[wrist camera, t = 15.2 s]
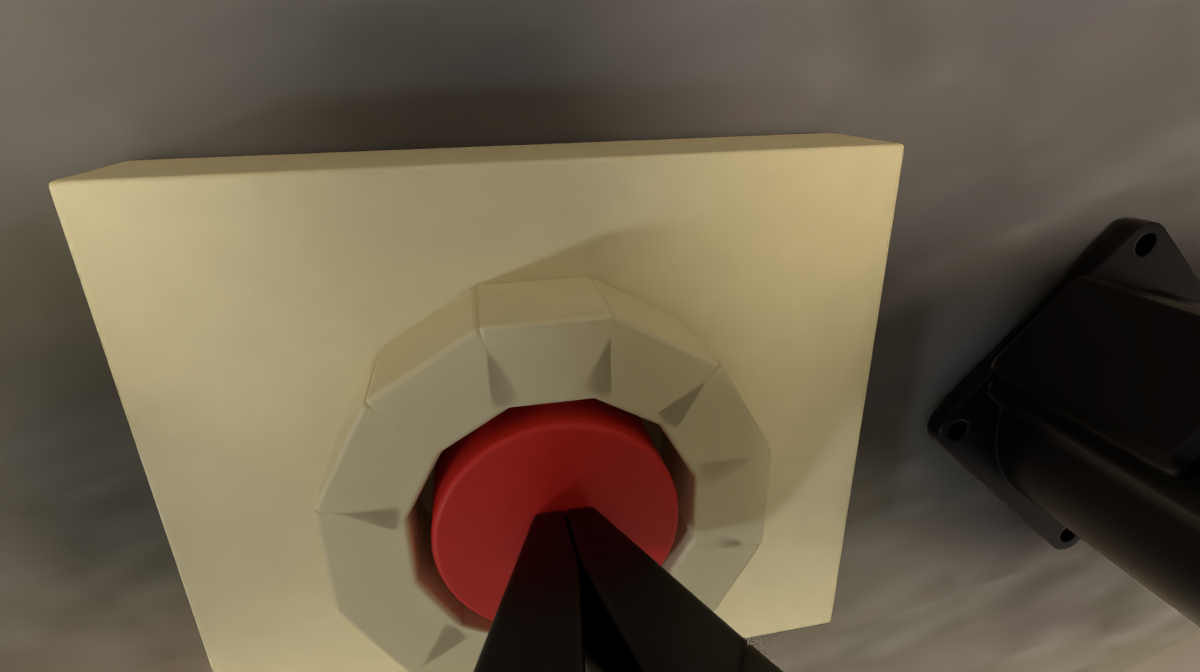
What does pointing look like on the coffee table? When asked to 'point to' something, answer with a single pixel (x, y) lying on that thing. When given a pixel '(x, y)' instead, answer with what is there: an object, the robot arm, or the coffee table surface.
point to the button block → (481, 363)
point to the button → (543, 489)
